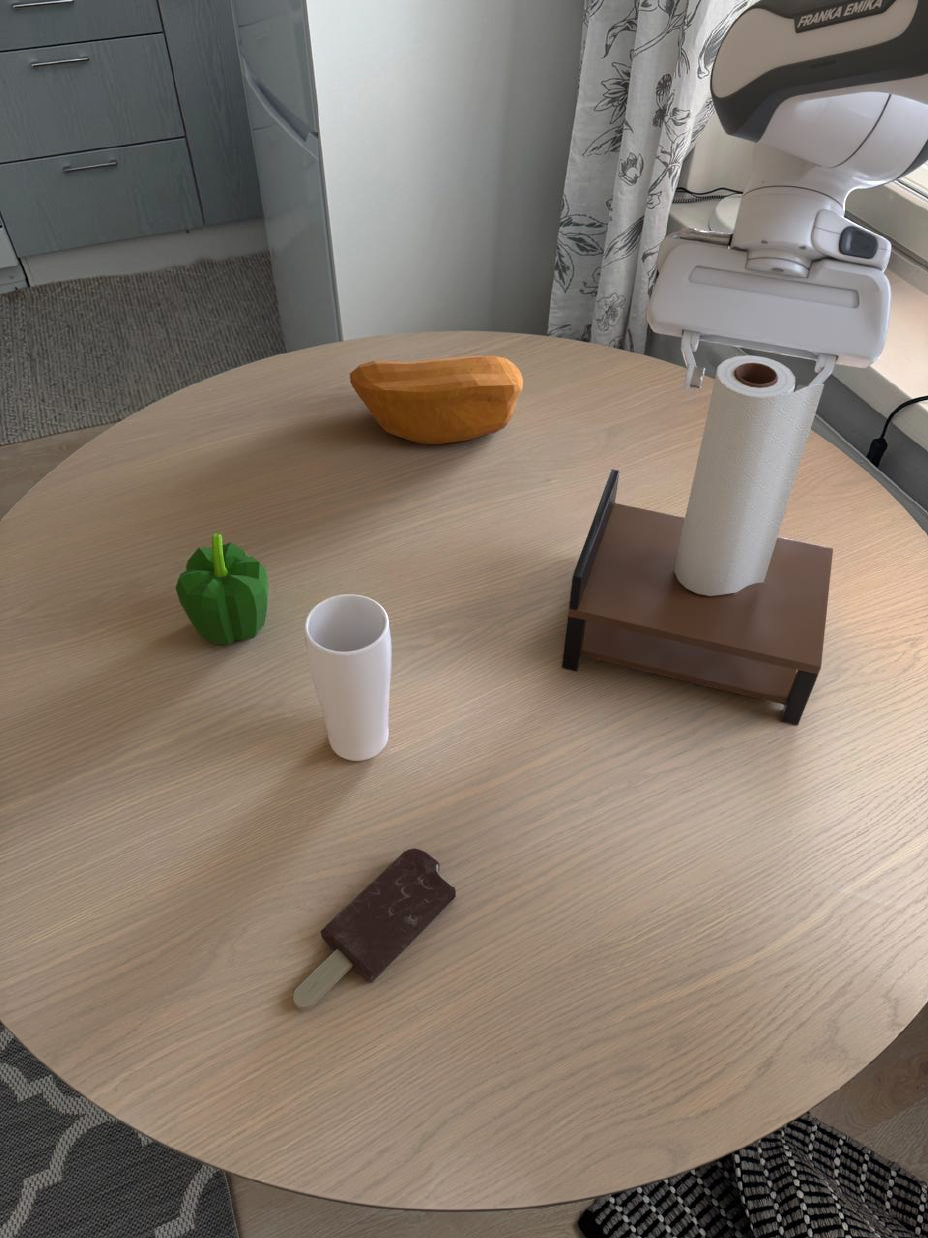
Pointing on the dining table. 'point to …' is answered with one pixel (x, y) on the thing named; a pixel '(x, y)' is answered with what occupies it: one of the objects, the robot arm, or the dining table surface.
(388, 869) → the ice cream bar
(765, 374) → the paper towel roll
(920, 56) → the robot arm
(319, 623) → the drinking glass
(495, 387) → the bread
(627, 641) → the rack
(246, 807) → the dining table surface
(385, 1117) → the dining table surface
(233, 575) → the bell pepper
